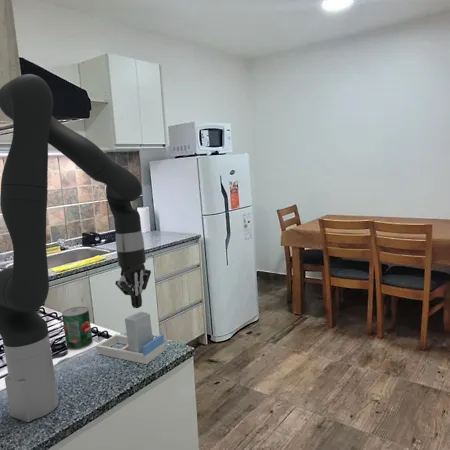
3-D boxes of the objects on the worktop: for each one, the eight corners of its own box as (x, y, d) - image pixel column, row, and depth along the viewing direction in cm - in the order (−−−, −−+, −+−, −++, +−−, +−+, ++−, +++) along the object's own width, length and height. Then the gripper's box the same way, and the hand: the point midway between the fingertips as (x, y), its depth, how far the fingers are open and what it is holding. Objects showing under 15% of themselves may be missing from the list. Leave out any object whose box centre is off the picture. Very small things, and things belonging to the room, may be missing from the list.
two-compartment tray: (146, 364, 109) (144, 347, 108) (96, 353, 118) (94, 338, 117) (164, 350, 117) (163, 334, 116) (117, 341, 125) (115, 326, 125)
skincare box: (144, 349, 119) (140, 310, 117) (154, 352, 116) (150, 313, 114) (128, 357, 114) (124, 318, 112) (138, 361, 111) (134, 320, 109)
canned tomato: (95, 344, 124) (90, 311, 123) (68, 352, 120) (63, 317, 119) (89, 336, 131) (85, 304, 129) (64, 343, 127) (59, 310, 126)
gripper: (124, 253, 103) (132, 317, 106) (155, 243, 114) (161, 300, 117) (103, 252, 106) (111, 314, 109) (135, 242, 118) (141, 298, 121)
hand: (137, 307), depth 113 cm, fingers closed
